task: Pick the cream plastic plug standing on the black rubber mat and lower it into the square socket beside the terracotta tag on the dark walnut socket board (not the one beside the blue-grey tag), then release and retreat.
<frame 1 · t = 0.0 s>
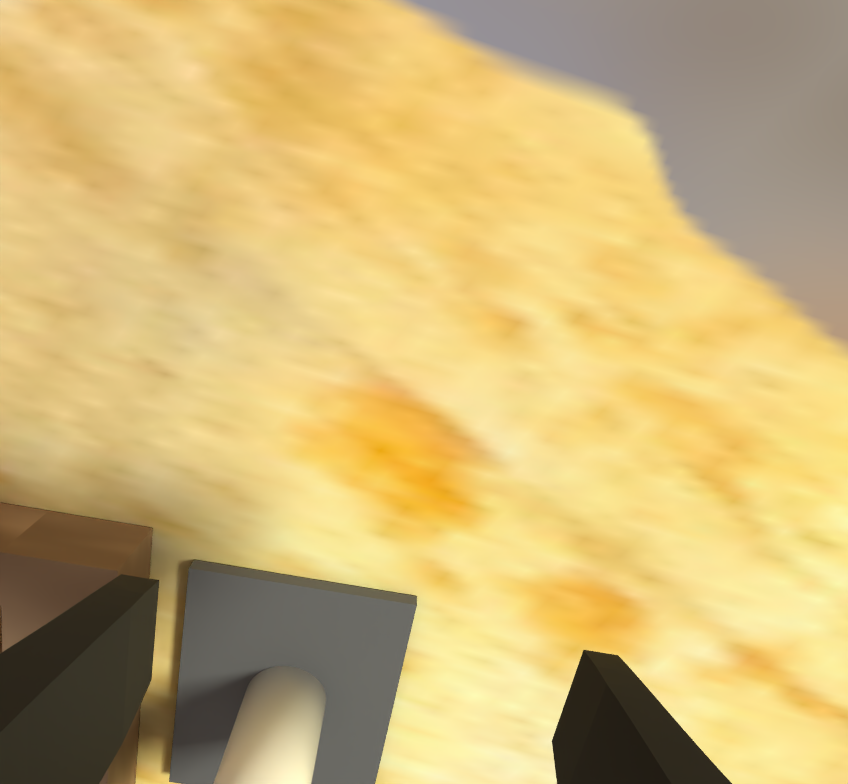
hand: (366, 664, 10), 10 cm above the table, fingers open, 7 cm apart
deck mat: (288, 687, 23), on the table
plug: (286, 698, 22), resting on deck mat
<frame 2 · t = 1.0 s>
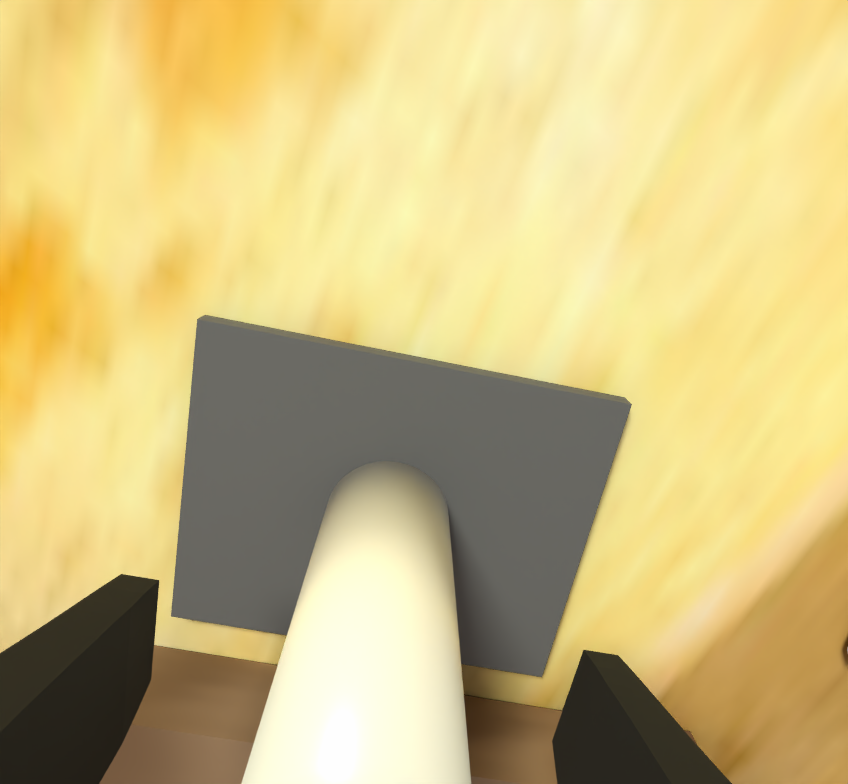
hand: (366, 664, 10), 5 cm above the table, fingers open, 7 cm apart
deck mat: (388, 506, 15), on the table
plug: (387, 516, 15), point 1 cm above the table, touching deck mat
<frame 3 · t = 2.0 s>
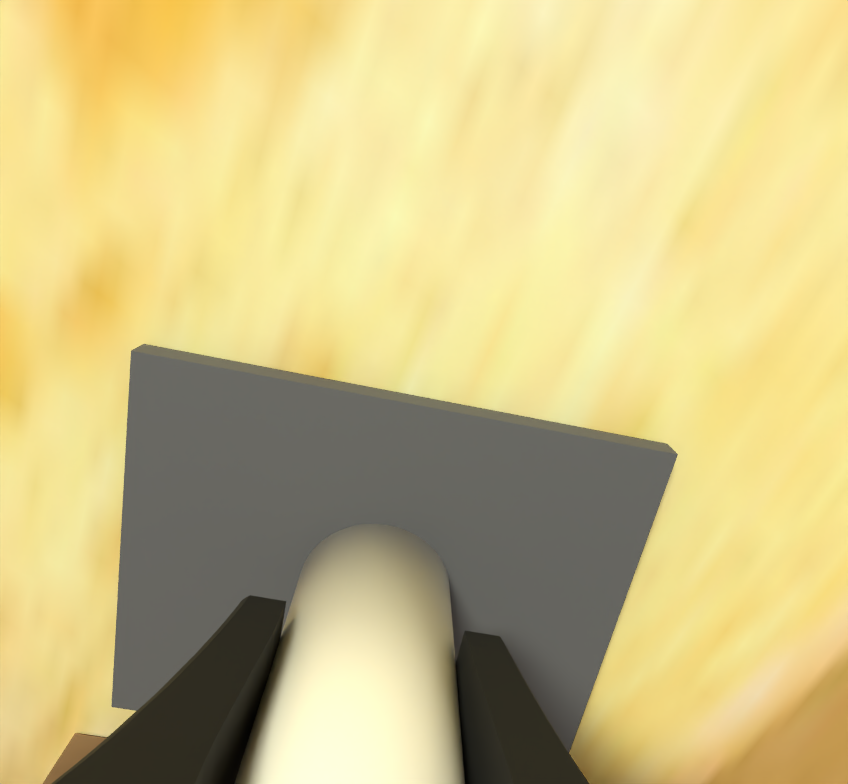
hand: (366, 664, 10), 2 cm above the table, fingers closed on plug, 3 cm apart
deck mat: (376, 574, 12), on the table
plug: (374, 589, 12), point 1 cm above the table, touching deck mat, gripper
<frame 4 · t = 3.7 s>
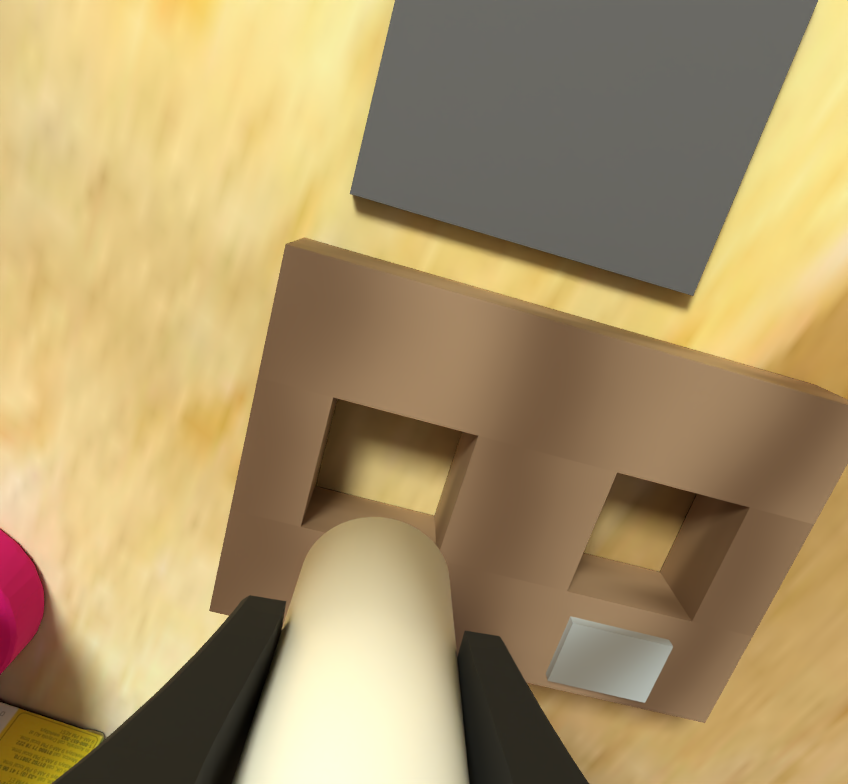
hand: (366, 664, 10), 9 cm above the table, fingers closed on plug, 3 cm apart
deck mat: (572, 95, 16), on the table
crayon box: (6, 724, 22), on the table
socket board: (511, 477, 19), on the table
plug: (375, 584, 12), point 7 cm above the table, touching gripper
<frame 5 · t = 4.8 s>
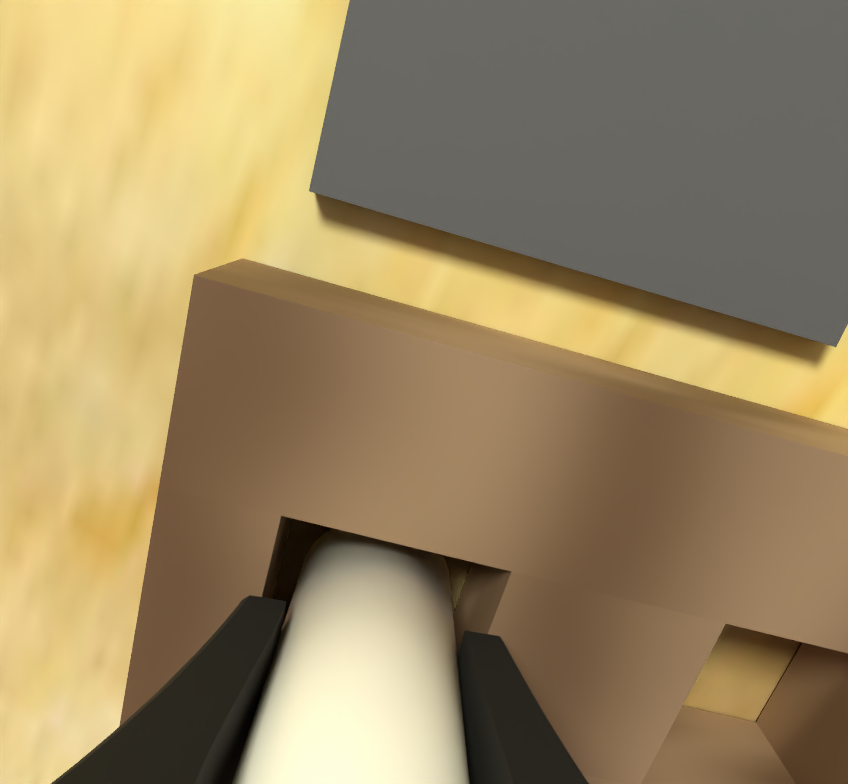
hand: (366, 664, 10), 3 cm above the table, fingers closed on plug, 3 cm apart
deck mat: (661, 34, 10), on the table
socket board: (551, 599, 13), on the table
plug: (375, 583, 12), point 1 cm above the table, touching gripper
when the fingers open (3 cm above the table, at t = 5.4 s): plug stays where it is, resting in socket board.
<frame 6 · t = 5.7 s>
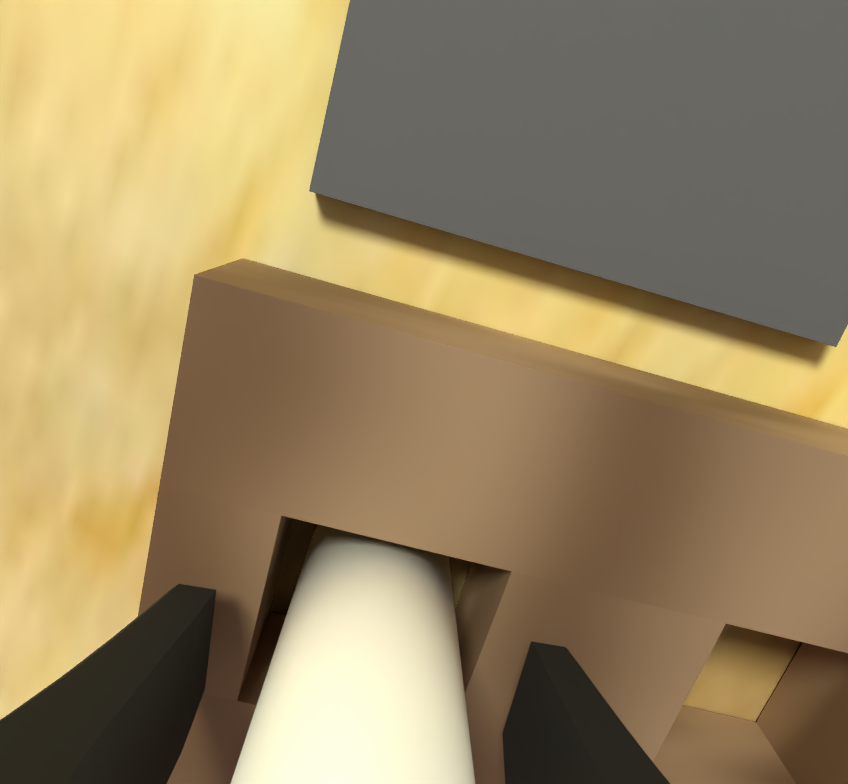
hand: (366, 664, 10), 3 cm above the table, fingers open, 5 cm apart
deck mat: (661, 34, 10), on the table
socket board: (551, 599, 13), on the table
plug: (378, 557, 13), resting in socket board
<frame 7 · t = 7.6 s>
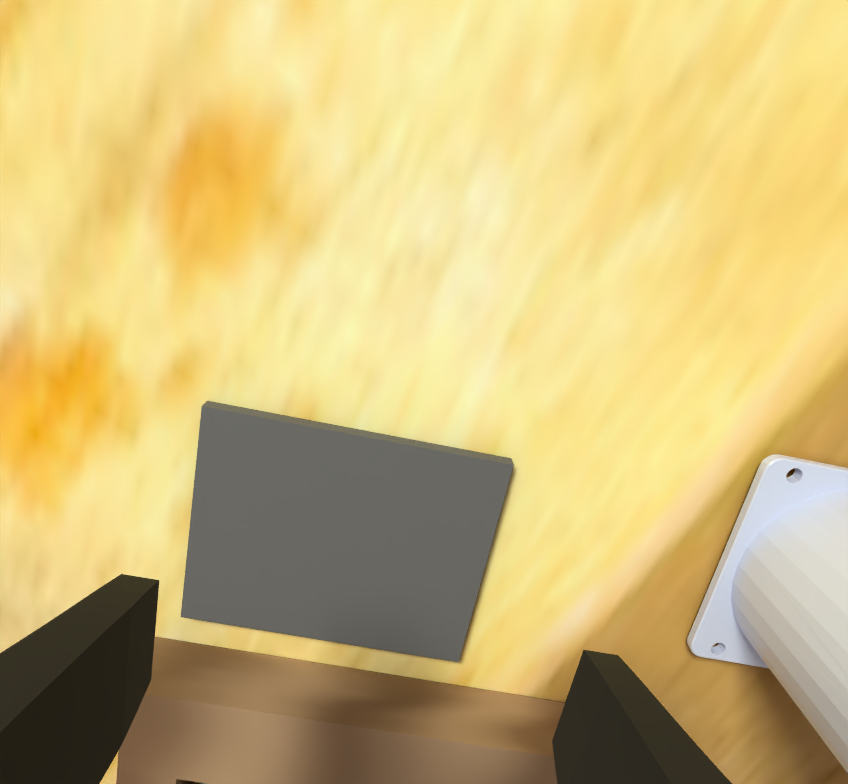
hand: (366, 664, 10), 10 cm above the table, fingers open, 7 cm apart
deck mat: (342, 536, 20), on the table
socket board: (346, 779, 24), on the table
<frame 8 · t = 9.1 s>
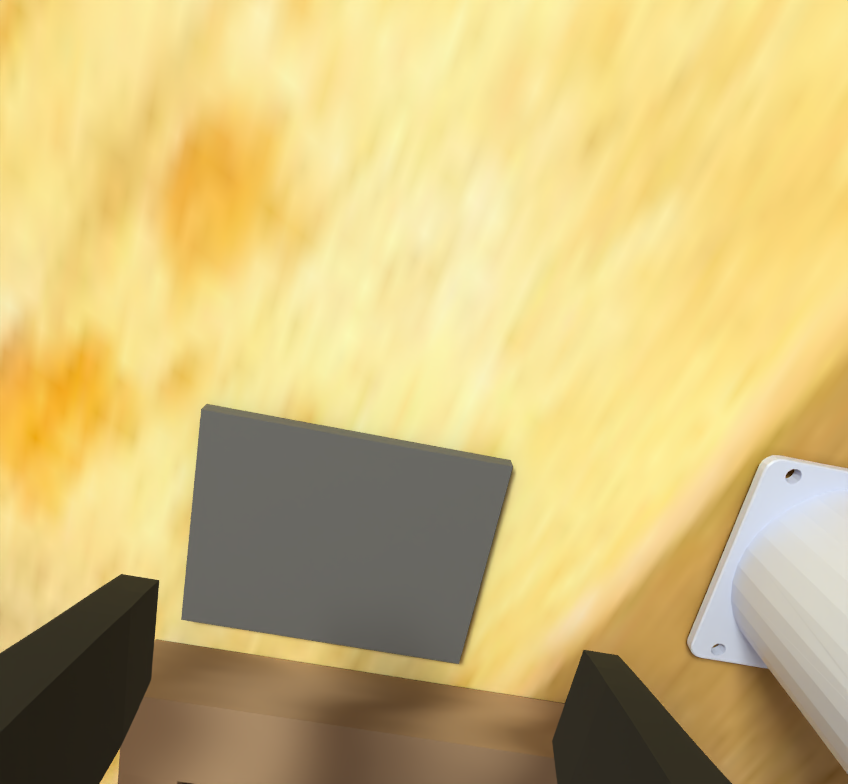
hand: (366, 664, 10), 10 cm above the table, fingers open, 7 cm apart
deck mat: (341, 538, 21), on the table
socket board: (347, 781, 24), on the table
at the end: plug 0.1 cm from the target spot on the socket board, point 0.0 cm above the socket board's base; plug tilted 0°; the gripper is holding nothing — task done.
